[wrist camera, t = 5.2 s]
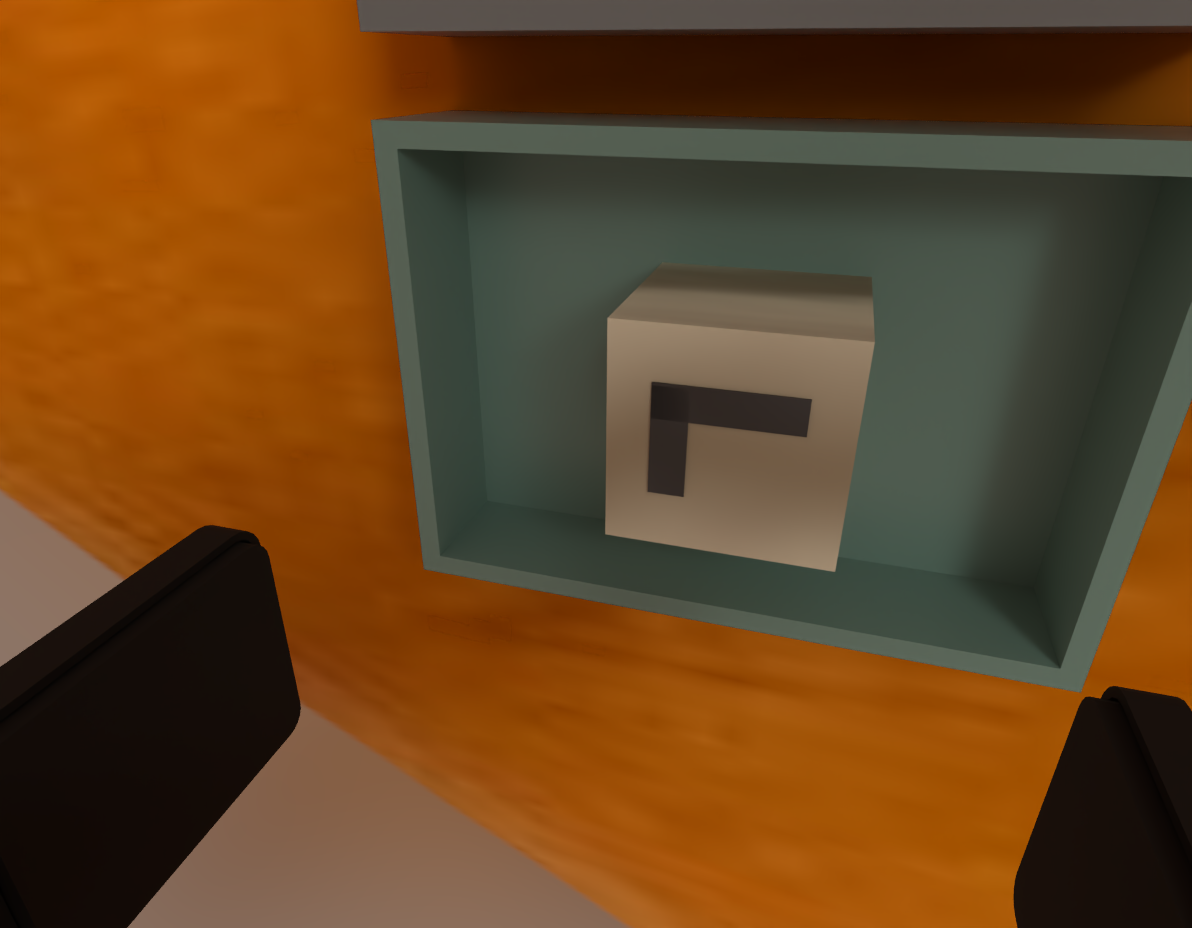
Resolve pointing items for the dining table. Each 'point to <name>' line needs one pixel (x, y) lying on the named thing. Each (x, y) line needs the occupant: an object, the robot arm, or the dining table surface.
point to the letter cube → (737, 410)
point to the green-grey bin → (896, 380)
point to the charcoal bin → (770, 17)
